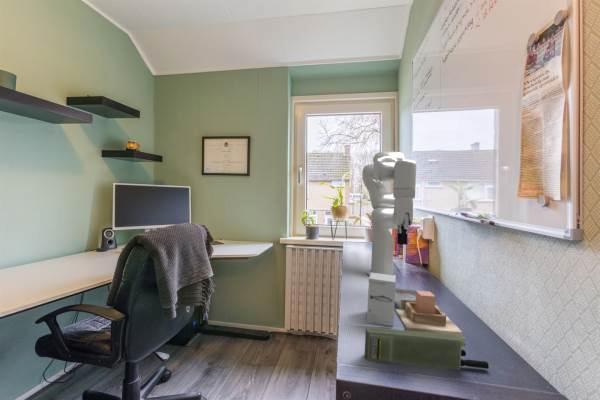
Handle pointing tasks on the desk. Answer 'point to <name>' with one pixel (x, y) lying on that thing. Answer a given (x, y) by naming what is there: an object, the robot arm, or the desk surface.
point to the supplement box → (381, 299)
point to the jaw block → (425, 302)
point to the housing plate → (404, 296)
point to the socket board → (427, 321)
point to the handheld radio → (417, 348)
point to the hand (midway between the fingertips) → (402, 244)
